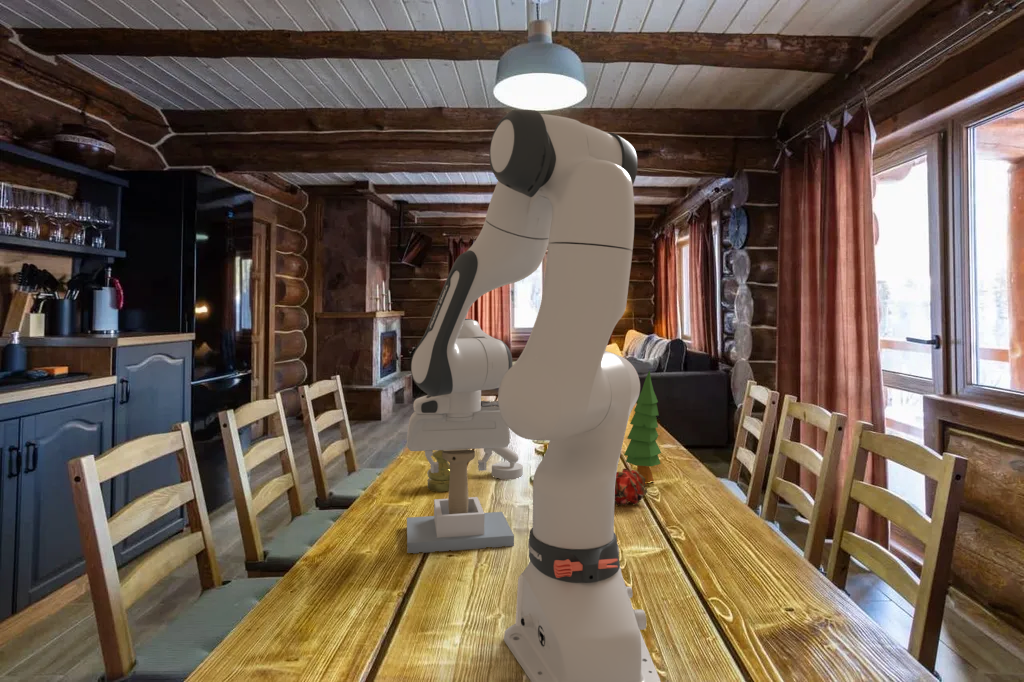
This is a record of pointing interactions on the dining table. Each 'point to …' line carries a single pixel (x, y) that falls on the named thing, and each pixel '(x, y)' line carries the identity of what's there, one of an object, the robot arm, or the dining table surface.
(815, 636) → the dining table surface
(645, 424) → the decorative tree
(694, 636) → the dining table surface
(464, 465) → the handle
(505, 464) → the wall hook
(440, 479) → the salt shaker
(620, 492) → the dragon fruit
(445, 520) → the grey base with socket
